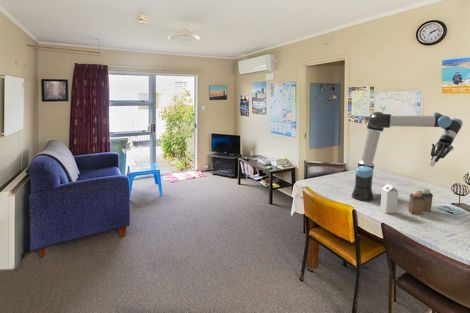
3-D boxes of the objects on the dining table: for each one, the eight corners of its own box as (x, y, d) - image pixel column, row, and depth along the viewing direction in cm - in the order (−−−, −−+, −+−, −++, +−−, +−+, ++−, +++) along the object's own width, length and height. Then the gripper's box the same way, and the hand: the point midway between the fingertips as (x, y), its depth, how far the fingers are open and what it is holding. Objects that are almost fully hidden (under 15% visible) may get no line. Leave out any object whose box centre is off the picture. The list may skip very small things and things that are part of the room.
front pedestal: (408, 210, 194) (410, 193, 192) (419, 211, 192) (421, 194, 190) (411, 214, 188) (413, 196, 186) (422, 215, 186) (424, 197, 184)
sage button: (420, 194, 196) (420, 188, 195) (427, 194, 195) (428, 189, 194) (422, 196, 191) (423, 190, 191) (430, 196, 190) (431, 191, 190)
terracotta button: (411, 196, 191) (412, 191, 190) (419, 197, 190) (420, 191, 189) (414, 199, 187) (414, 193, 186) (422, 199, 185) (422, 193, 185)
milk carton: (390, 209, 197) (392, 182, 193) (396, 213, 190) (398, 185, 186) (380, 209, 197) (382, 182, 193) (385, 213, 190) (388, 185, 186)
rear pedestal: (416, 207, 199) (418, 191, 197) (427, 208, 197) (429, 191, 195) (419, 211, 193) (421, 194, 190) (430, 212, 191) (432, 194, 189)
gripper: (459, 142, 194) (444, 170, 189) (438, 140, 206) (423, 166, 201) (457, 135, 191) (440, 163, 186) (435, 133, 202) (419, 159, 197)
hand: (431, 164), depth 193 cm, fingers closed
